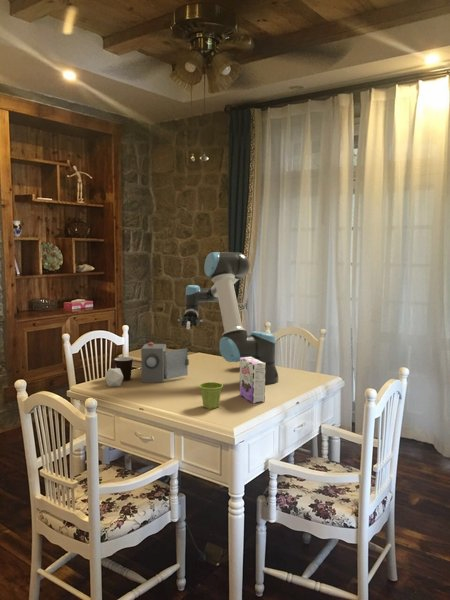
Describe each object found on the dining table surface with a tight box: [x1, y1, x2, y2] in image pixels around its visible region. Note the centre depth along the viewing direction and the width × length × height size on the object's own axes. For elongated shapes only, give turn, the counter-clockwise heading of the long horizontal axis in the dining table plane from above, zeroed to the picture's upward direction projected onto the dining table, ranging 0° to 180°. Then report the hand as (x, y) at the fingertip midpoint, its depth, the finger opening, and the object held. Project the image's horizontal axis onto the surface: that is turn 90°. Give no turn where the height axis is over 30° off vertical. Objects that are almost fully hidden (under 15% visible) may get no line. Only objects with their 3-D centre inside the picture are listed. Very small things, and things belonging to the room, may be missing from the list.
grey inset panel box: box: [140, 341, 167, 383], centre depth 243 cm, size 14×10×17 cm
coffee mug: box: [113, 356, 133, 382], centre depth 245 cm, size 12×9×10 cm
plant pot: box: [198, 381, 224, 410], centre depth 201 cm, size 9×9×9 cm
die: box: [104, 368, 124, 388], centre depth 232 cm, size 8×9×10 cm
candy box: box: [239, 357, 266, 404], centre depth 212 cm, size 14×6×16 cm, turn 22°
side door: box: [163, 347, 190, 380], centre depth 242 cm, size 13×2×13 cm, turn 129°
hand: (188, 326), depth 249 cm, fingers closed
